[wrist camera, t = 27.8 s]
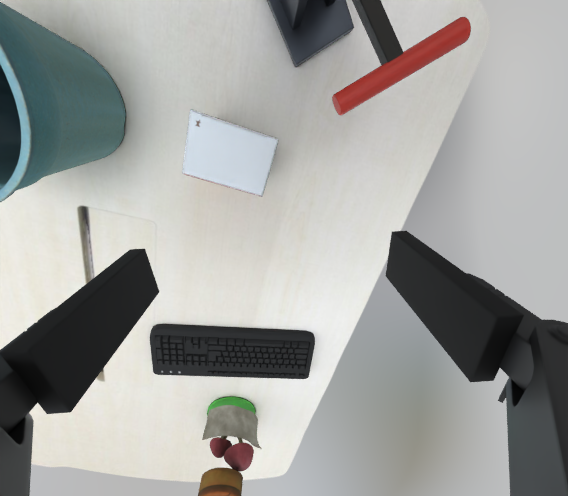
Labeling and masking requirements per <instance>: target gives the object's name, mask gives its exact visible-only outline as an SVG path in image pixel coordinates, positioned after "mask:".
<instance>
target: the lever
mask: <svg viewBox="0 0 568 496" xmlns="http://www.w3.org/2000/svg"><path fill="white" fill-rule="evenodd" d="M352 1H353V3H354V6H355V8H356V10H357V12H358V14H359V17H360V19H361V21H362V23H363V25H364V27H365V30H366V32H367V34H368V36H369V38H370V41H371V43H372V45H373V47H374V49H375V52H376V54H377V56H378V58H379V60H380V63H381V65H382V66H380V67H378V68H377V69H375V70H373V71H372V72H370V73H368V74H367V75H365V76H364V77H362V78H360V79H359V80H357V81H355V82H354V83H352V84H350V85H349V86H347V87H345V88H344V89H342V90H341V91H339V92H337V93H336V94H334V95H333V97H332V98H333V104H334V107H335V109H336V111H337V113H338V114H339V115H343V114H345V113H346V112H348V111H350V110H351V109H353V108H355V107H357V106H358V105H360V104H362V103H363V102H365V101H367V100H368V99H370V98H372V97H373V96H375V95H377V94H379V93H380V92H382V91H384V90H385V89H387V88H389V87H390V86H392V85H394V84H395V83H397V82H399V81H401V80H402V79H404V78H406V77H407V76H409V75H411V74H412V73H414V72H416V71H417V70H419V69H421V68H422V67H424V66H426V65H428V64H429V63H431V62H433V61H434V60H436V59H438V58H439V57H441V56H443V55H444V54H446V53H448V52H450V51H451V50H453V49H455V48H456V47H458V46H460V45H461V44H463V43H465V42H466V41H467V40H468V38H469V36H470V32H471V26H470V22H469V20H468V19H467V18H466V17H460V18H459V19H457V20H455V21H454V22H452V23H450V24H449V25H447V26H445V27H444V28H442V29H441V30H439V31H437V32H436V33H434V34H432V35H431V36H429V37H427V38H426V39H424V40H423V41H421V42H419V43H418V44H416V45H414V46H413V47H411V48H409V49H408V50H406V51H404V52H403V50H402V48H401V46H400V44H399V41H398V39H397V37H396V35H395V32H394V30H393V28H392V26H391V23H390V21H389V19H388V17H387V14H386V12H385V10H384V8H383V5H382V3H381V1H380V0H352Z"/></svg>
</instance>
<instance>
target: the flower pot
mask: <svg viewBox="0 0 568 496" xmlns="http://www.w3.org/2000/svg"><path fill="white" fill-rule="evenodd" d="M125 117H126V112H125V107H124V104H123V100H122V97H121V95H120V93H119V91H118V89H117V87H116V85H115V83H114V82H113V80H112V78H111V77H110V76H109V74H108V73H107V72H106V70H105V69H104V68H103V67H102V66H101V65H100V64H99V63H98V62H97V61H96V60H95V59H94V58H93V57H92V56H90V55H89V54H88V53H86V52H85V51H84V50H82V49H80V48H79V47H77V46H75V45H74V44H72V43H70V42H68V41H67V40H65V39H63V38H61V37H60V36H58V35H56V34H54V33H53V32H51V31H49V30H48V29H46V28H44V27H42V26H41V25H39V24H37V23H36V22H34V21H32V20H30V19H29V18H27V17H25V16H24V15H22V14H20V13H18V12H17V11H15V10H13V9H12V8H10V7H8V6H6V5H5V4H3V3H1V2H0V202H2V201H3V200H5V199H6V198H8V197H9V196H10V195H12V194H13V193H14V192H15V190H18V189H21V188H24V187H27V186H29V185H31V184H33V183H35V182H37V181H38V180H39V179H41V178H42V177H44V176H47V175H50V174H53V173H57V172H60V171H63V170H66V169H69V168H72V167H76V166H79V165H82V164H85V163H88V162H91V161H95V160H98V159H101V158H104V157H106V156H108V155H110V154H111V153H112V152H113V151H115V150H116V149H117V147H118V146H119V145H120V143H121V141H122V139H123V137H124V123H125Z"/></svg>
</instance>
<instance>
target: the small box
mask: <svg viewBox="0 0 568 496" xmlns="http://www.w3.org/2000/svg"><path fill="white" fill-rule="evenodd" d="M277 144H278V139H277V138H274V137H271V136H268V135H265V134H262V133H259V132H256V131H253V130H250V129H247V128H244V127H241V126H239V125H236V124H233V123H230V122H227V121H224V120H221V119H218V118H215V117H212V116H209V115H206V114H203V113H200V112H198V111H195V110H192V109H191V110H190V116H189V124H188V132H187V140H186V148H185V155H184V163H183V171H182V173H183V174H185V175H188V176H192V177H195V178H199V179H202V180H206V181H209V182H213V183H216V184H220V185H223V186H227V187H230V188H234V189H237V190H240V191H244V192H247V193H251V194H254V195H258V196H261V197H262V196H263V194H264V190H265V187H266V183H267V180H268V176H269V173H270V169H271V166H272V162H273V158H274V155H275V151H276V148H277Z"/></svg>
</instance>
